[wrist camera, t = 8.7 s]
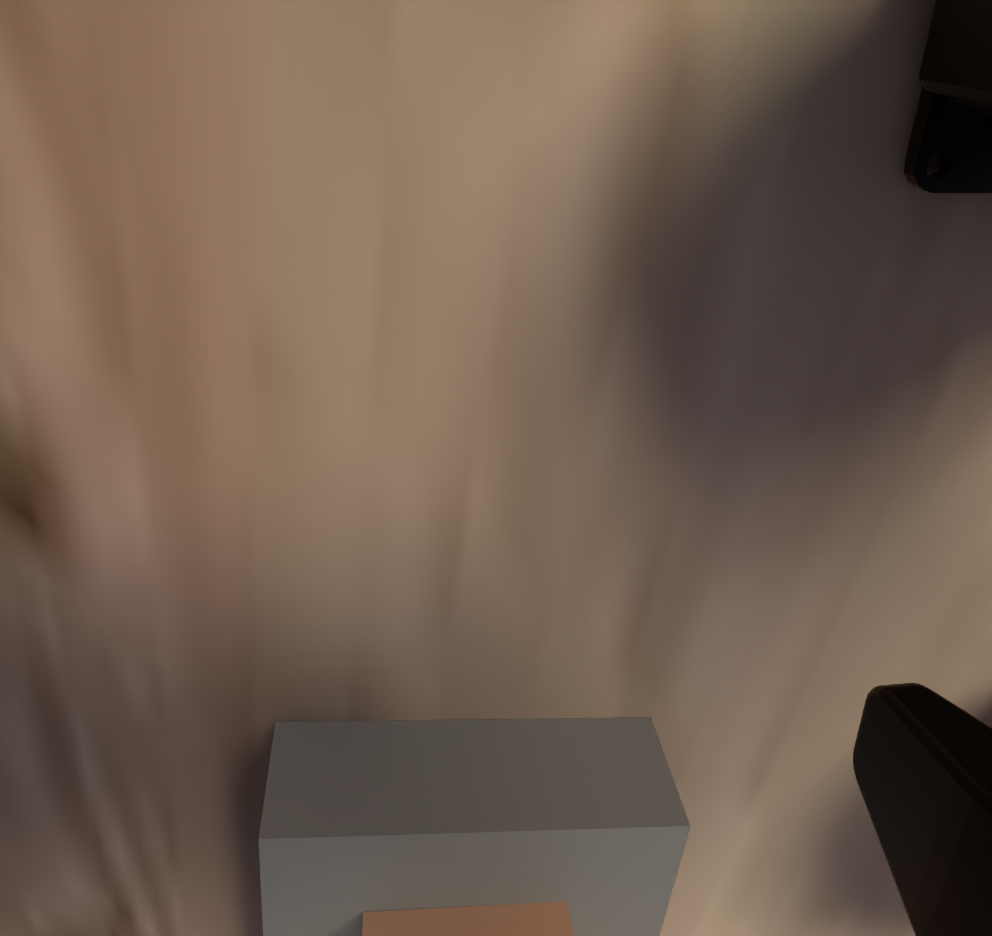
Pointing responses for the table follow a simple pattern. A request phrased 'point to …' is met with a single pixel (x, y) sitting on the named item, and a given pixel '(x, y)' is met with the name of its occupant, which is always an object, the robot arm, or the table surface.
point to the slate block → (468, 821)
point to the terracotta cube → (473, 921)
